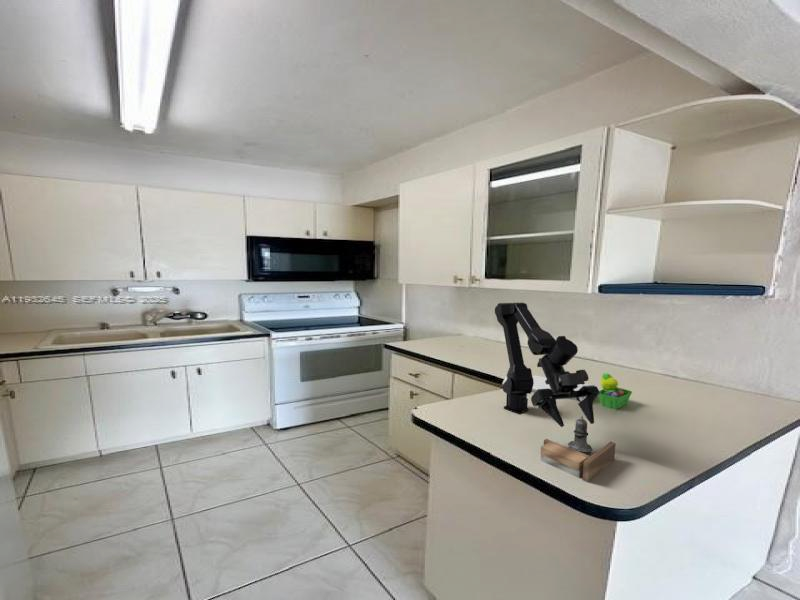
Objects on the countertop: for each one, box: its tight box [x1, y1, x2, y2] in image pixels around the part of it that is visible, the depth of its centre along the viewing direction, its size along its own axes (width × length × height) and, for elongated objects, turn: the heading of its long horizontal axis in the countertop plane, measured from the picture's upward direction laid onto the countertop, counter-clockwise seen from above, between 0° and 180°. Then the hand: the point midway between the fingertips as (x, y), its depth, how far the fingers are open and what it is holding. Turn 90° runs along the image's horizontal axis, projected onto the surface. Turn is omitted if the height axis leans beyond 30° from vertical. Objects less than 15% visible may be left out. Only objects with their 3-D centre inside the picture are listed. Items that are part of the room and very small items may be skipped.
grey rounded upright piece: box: [567, 416, 593, 456], centre depth 101 cm, size 6×6×12 cm
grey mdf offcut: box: [540, 453, 583, 479], centre depth 95 cm, size 10×4×2 cm, turn 40°
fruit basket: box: [598, 372, 633, 411], centre depth 139 cm, size 11×9×11 cm
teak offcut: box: [540, 442, 587, 471], centre depth 95 cm, size 10×4×2 cm, turn 39°
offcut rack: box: [543, 438, 616, 483], centre depth 98 cm, size 14×16×6 cm
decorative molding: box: [501, 374, 597, 403], centre depth 153 cm, size 34×5×10 cm
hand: (577, 424), depth 102 cm, fingers open, 9 cm apart
